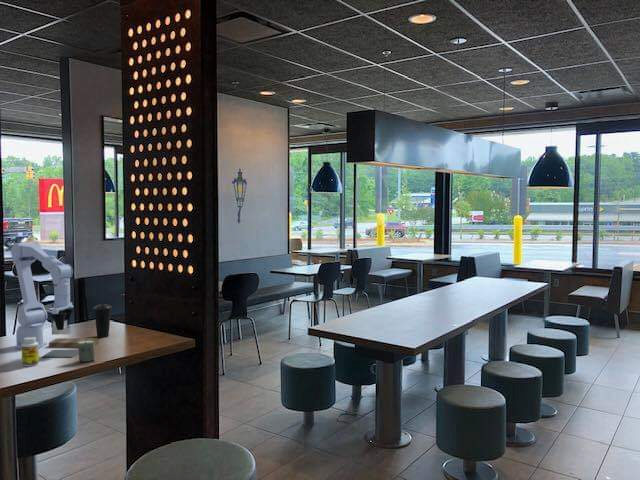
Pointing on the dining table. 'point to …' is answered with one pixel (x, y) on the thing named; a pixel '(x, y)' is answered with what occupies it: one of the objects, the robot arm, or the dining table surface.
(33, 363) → the supplement bottle
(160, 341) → the dining table surface
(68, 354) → the mat
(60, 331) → the grey stepped block
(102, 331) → the drinking cup
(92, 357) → the small box
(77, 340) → the body
